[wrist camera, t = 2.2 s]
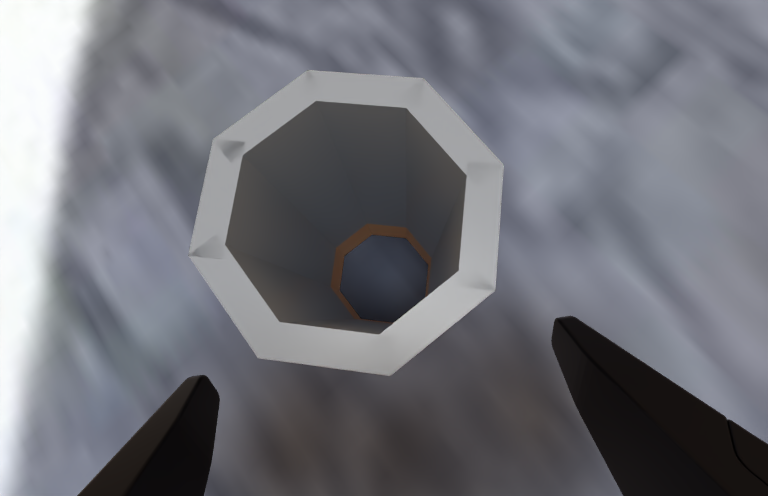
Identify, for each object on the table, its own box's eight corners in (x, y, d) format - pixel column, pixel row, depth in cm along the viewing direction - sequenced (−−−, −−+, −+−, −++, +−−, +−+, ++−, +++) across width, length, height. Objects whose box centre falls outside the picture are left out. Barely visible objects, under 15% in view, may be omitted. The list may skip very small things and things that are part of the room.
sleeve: (463, 287, 20) (566, 232, 7) (374, 358, 19) (313, 439, 7) (392, 202, 21) (372, 22, 8) (307, 269, 20) (143, 190, 8)
